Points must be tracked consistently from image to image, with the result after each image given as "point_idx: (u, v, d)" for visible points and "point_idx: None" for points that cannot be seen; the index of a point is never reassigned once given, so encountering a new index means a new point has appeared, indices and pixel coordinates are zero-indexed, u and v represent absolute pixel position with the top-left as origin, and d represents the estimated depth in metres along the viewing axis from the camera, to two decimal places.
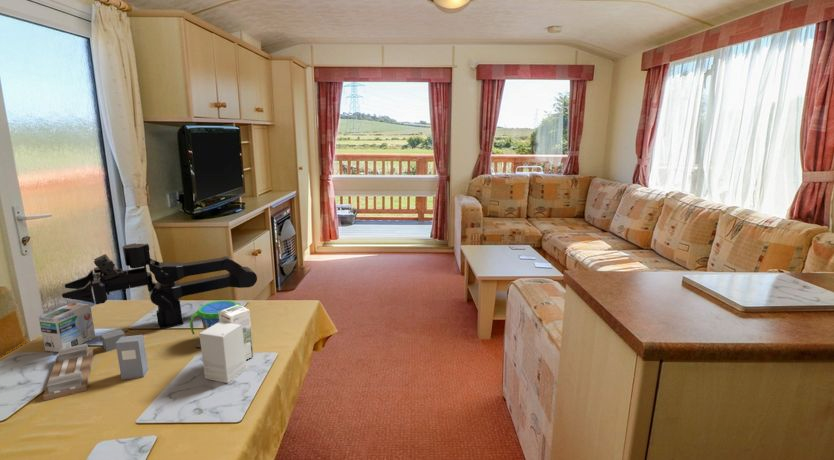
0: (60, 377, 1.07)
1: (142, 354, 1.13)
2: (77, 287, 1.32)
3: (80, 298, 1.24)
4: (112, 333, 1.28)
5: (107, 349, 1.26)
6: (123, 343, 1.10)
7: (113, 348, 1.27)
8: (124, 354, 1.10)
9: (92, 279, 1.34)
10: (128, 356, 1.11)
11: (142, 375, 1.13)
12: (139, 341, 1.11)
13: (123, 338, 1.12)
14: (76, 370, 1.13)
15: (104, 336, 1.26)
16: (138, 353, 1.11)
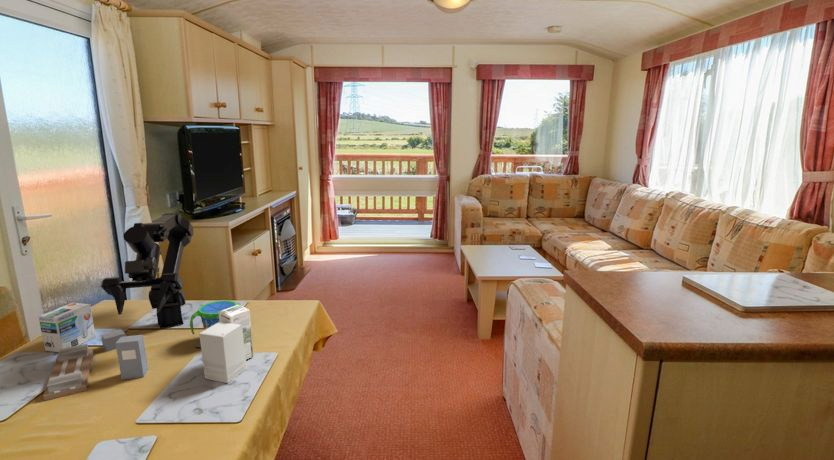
0: (60, 377, 1.07)
1: (142, 354, 1.13)
2: (122, 306, 1.20)
3: (166, 299, 1.23)
4: (112, 333, 1.28)
5: (107, 349, 1.26)
6: (123, 343, 1.10)
7: (113, 348, 1.27)
8: (124, 354, 1.10)
9: (121, 290, 1.21)
10: (128, 356, 1.11)
11: (142, 375, 1.13)
12: (139, 341, 1.11)
13: (123, 338, 1.12)
14: (76, 370, 1.13)
15: (104, 336, 1.26)
16: (138, 353, 1.11)
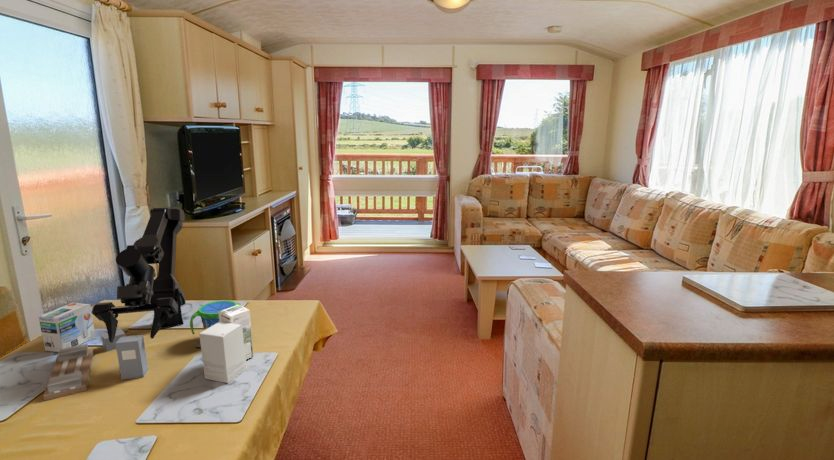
0: (60, 377, 1.07)
1: (142, 354, 1.13)
2: (114, 333, 1.14)
3: (160, 324, 1.17)
4: None
5: (107, 349, 1.26)
6: (123, 343, 1.10)
7: (113, 348, 1.27)
8: (124, 354, 1.10)
9: (112, 316, 1.15)
10: (128, 356, 1.11)
11: (142, 375, 1.13)
12: (139, 341, 1.11)
13: (123, 338, 1.12)
14: (76, 370, 1.13)
15: (104, 336, 1.26)
16: (138, 353, 1.11)
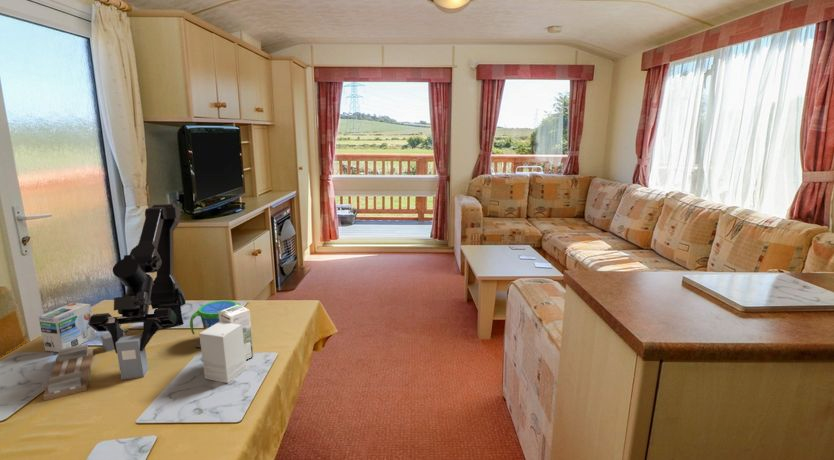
0: (60, 377, 1.07)
1: (142, 354, 1.13)
2: None
3: (150, 336, 1.15)
4: None
5: (107, 349, 1.26)
6: (123, 343, 1.10)
7: (113, 348, 1.27)
8: (124, 354, 1.10)
9: (118, 327, 1.13)
10: (127, 356, 1.11)
11: (142, 375, 1.13)
12: (139, 341, 1.11)
13: (123, 338, 1.12)
14: (76, 370, 1.13)
15: (104, 336, 1.26)
16: (138, 353, 1.11)
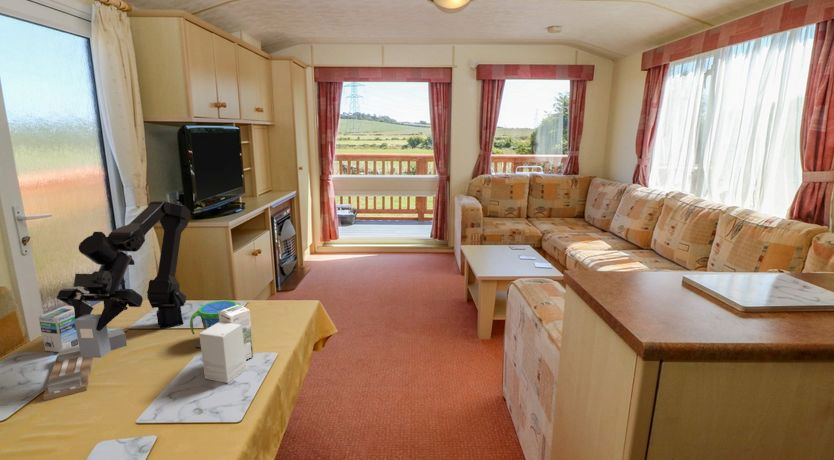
0: (60, 377, 1.07)
1: (101, 334, 1.10)
2: None
3: (112, 317, 1.12)
4: (112, 333, 1.28)
5: None
6: (81, 320, 1.08)
7: (113, 348, 1.27)
8: (82, 332, 1.08)
9: (84, 303, 1.12)
10: (85, 335, 1.08)
11: (99, 355, 1.10)
12: (96, 321, 1.08)
13: (85, 316, 1.10)
14: (76, 370, 1.13)
15: None
16: (95, 333, 1.08)
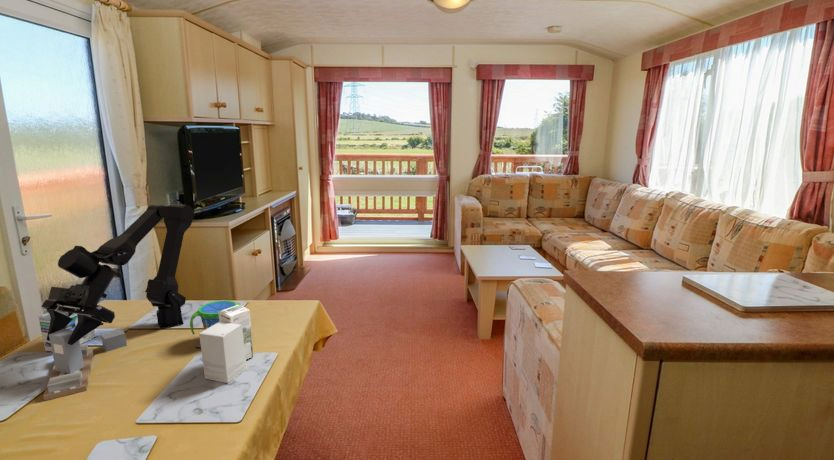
0: (60, 377, 1.07)
1: (72, 351, 1.12)
2: None
3: (87, 331, 1.12)
4: (112, 333, 1.28)
5: (107, 349, 1.26)
6: (54, 336, 1.10)
7: (113, 348, 1.27)
8: (55, 347, 1.11)
9: (61, 314, 1.15)
10: (58, 350, 1.11)
11: (69, 372, 1.11)
12: (66, 338, 1.10)
13: (61, 331, 1.12)
14: None
15: (104, 336, 1.26)
16: (64, 349, 1.10)
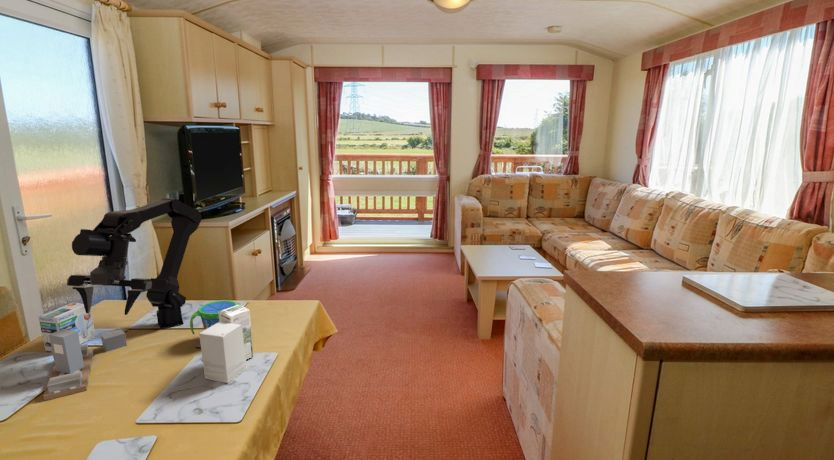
0: (60, 377, 1.07)
1: (72, 351, 1.12)
2: (90, 302, 1.22)
3: (134, 300, 1.25)
4: (112, 333, 1.28)
5: (107, 349, 1.26)
6: (54, 336, 1.10)
7: (113, 348, 1.27)
8: (55, 347, 1.11)
9: (88, 288, 1.20)
10: (58, 350, 1.11)
11: (69, 372, 1.11)
12: (66, 338, 1.10)
13: (61, 331, 1.12)
14: None
15: (104, 336, 1.26)
16: (64, 349, 1.10)
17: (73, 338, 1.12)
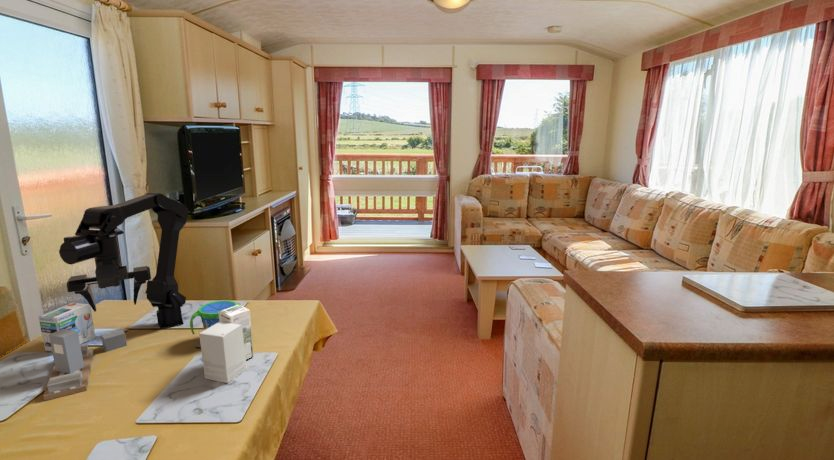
0: (60, 377, 1.07)
1: (72, 351, 1.12)
2: (94, 300, 1.21)
3: None
4: (112, 333, 1.28)
5: (107, 349, 1.26)
6: (54, 336, 1.10)
7: (113, 348, 1.27)
8: (55, 347, 1.11)
9: (89, 288, 1.19)
10: (58, 350, 1.11)
11: (69, 372, 1.11)
12: (66, 338, 1.10)
13: (61, 331, 1.12)
14: None
15: (104, 336, 1.26)
16: (64, 349, 1.10)
17: (73, 338, 1.12)
